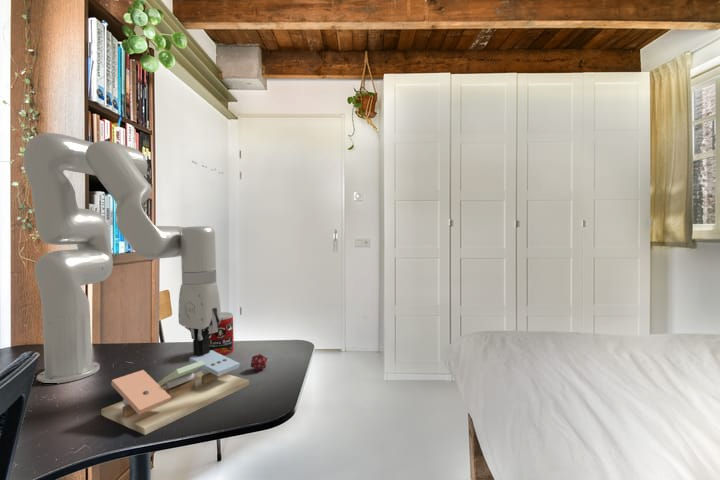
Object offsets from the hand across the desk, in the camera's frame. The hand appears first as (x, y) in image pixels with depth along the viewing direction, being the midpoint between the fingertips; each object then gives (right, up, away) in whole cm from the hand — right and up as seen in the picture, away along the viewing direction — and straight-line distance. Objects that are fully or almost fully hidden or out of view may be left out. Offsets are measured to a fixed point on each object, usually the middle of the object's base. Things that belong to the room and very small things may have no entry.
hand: (201, 355), depth 90 cm
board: (0, -6, -10) cm, 12 cm away
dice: (+12, -6, +6) cm, 15 cm away
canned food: (-3, -6, +21) cm, 22 cm away
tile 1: (-5, -3, -17) cm, 18 cm away
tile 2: (0, -2, -10) cm, 10 cm away
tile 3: (+4, -2, -2) cm, 5 cm away
